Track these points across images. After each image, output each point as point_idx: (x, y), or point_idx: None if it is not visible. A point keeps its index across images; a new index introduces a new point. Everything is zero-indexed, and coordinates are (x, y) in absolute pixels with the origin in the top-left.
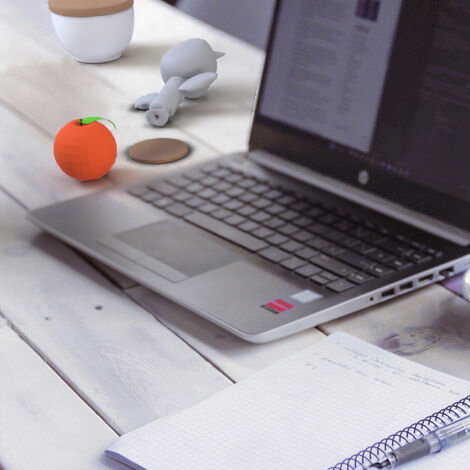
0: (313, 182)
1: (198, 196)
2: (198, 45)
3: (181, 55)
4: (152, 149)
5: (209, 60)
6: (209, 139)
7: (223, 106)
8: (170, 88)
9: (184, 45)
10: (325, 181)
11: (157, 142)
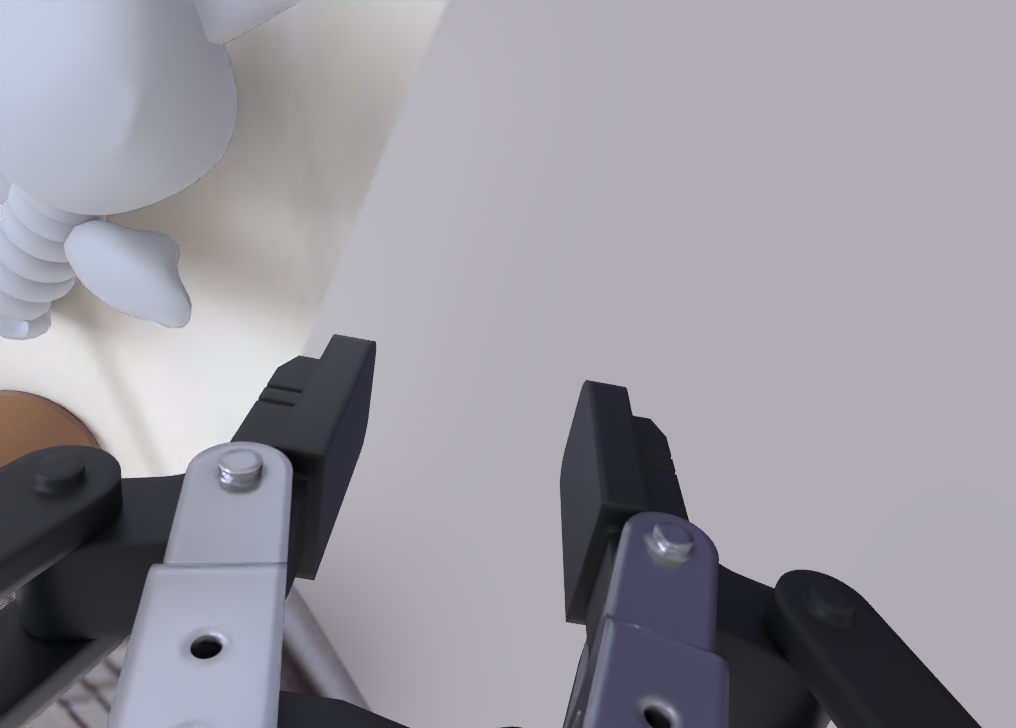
0: (333, 698)
1: (103, 659)
2: (103, 159)
3: (32, 186)
4: (9, 455)
5: (172, 192)
6: (168, 439)
7: (259, 229)
8: (30, 253)
9: (36, 134)
10: (356, 703)
11: (23, 423)
